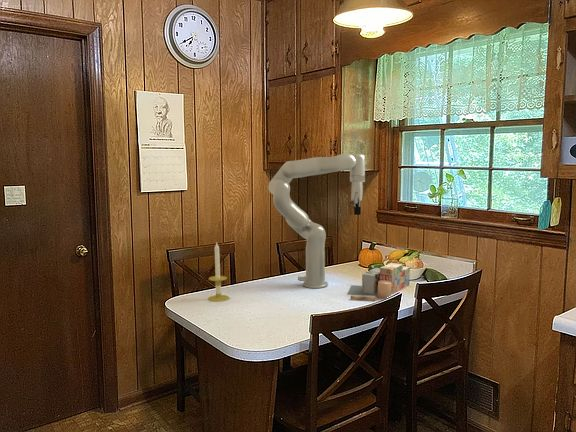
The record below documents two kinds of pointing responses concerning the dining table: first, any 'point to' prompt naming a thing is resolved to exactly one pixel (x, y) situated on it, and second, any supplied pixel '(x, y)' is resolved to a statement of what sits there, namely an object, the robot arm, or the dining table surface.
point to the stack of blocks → (395, 276)
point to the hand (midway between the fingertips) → (357, 214)
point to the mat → (358, 291)
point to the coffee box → (370, 281)
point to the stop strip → (363, 298)
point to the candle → (218, 279)
